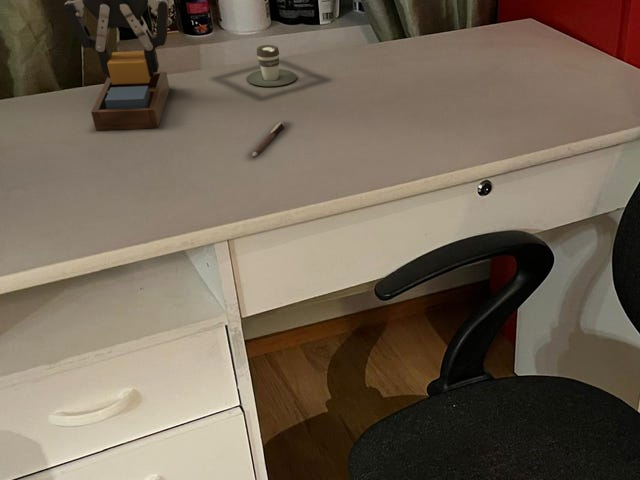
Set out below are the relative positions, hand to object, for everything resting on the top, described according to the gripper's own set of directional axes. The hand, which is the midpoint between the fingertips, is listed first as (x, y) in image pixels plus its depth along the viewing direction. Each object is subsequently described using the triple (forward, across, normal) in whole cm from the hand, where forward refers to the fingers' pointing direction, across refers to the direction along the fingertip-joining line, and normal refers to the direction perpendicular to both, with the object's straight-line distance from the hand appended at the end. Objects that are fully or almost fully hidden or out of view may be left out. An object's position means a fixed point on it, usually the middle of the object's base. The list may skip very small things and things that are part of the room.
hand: (132, 75), depth 124 cm
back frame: (+4, 0, +4) cm, 5 cm away
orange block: (0, 0, 0) cm, 0 cm away
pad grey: (+3, 0, +7) cm, 8 cm away
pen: (+4, -19, +18) cm, 26 cm away
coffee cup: (+4, -19, -6) cm, 21 cm away
